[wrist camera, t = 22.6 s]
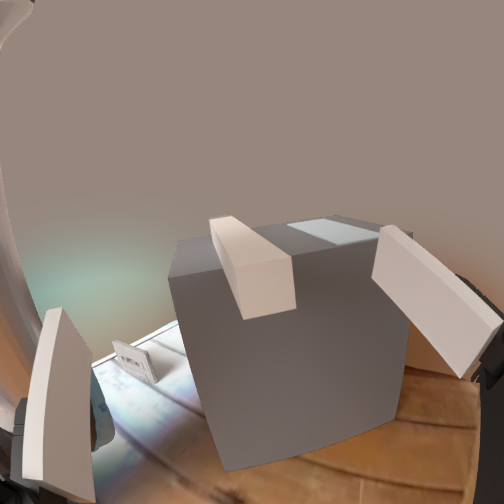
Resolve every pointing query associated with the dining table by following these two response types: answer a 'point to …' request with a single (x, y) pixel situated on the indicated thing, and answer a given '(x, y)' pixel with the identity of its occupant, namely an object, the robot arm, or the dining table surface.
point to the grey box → (293, 344)
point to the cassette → (135, 361)
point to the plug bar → (253, 268)
